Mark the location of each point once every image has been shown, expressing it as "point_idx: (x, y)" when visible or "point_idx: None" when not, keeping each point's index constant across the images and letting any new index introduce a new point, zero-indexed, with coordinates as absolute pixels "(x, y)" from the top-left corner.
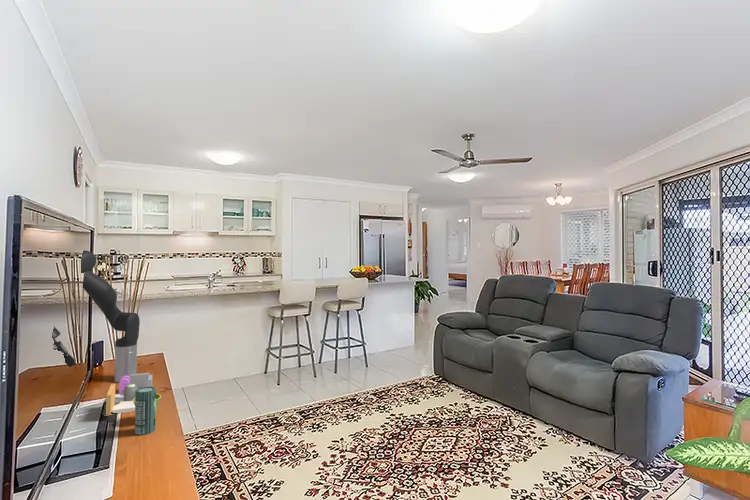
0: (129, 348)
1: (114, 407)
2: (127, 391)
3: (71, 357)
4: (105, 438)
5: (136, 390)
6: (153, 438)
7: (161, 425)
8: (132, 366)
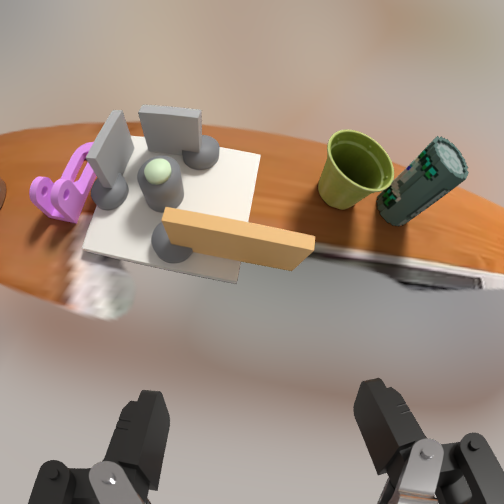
0: None
1: None
2: (175, 188)
3: (151, 424)
4: (398, 280)
5: (457, 175)
6: None
7: None
8: None
